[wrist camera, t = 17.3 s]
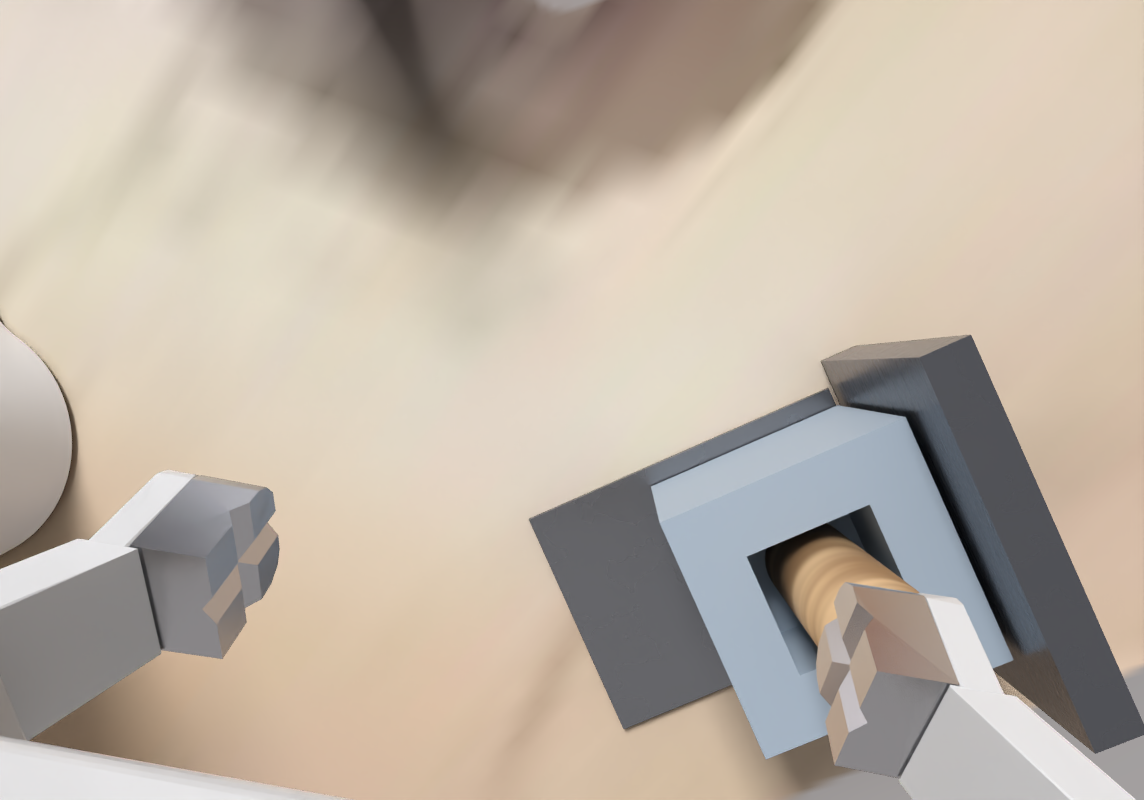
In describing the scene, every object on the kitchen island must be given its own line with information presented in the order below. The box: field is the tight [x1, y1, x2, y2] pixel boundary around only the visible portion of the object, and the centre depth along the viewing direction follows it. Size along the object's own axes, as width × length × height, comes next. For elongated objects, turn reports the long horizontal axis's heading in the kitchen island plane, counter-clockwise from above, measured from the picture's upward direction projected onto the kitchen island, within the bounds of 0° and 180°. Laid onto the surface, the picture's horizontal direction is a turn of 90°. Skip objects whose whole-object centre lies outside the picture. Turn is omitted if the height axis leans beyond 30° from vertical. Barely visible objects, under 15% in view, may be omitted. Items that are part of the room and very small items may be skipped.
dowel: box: [765, 523, 920, 647], centre depth 31 cm, size 4×4×12 cm
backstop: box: [529, 335, 1144, 753], centre depth 36 cm, size 20×16×14 cm
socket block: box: [651, 405, 1013, 759], centre depth 37 cm, size 11×11×10 cm
